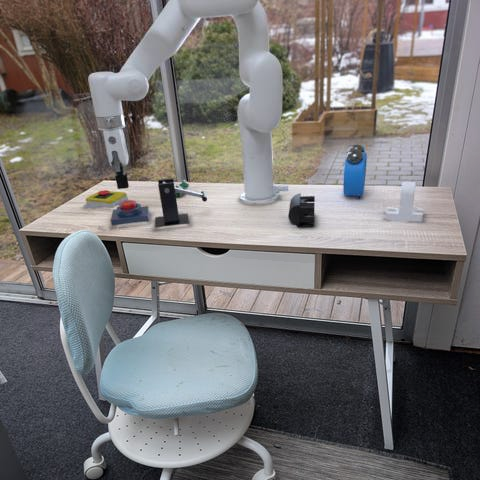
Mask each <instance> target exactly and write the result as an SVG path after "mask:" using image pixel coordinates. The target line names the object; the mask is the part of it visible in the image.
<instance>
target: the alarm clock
mask: <svg viewBox="0 0 480 480" xmlns="http://www.w3.org/2000/svg"><path fill="white" fill-rule="evenodd" d="M365 150H366V149H365V147H364V146H363V145H362V144H360V143H359V144H358V143H356V144H352V145H351V146H350V147H349V148H348V152H346V154H345V159H344V170H343V182H342V183H343V185H342V186H343V187H342V189H343V190H342V191H343V195H344V196H345V197H347V196H348V197H358V199H359V200H361V197H363V195H364V192H365V185H366V174H367V162H368V161H367V159H368V155H367V152H366V151H365Z"/></svg>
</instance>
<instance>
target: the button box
mask: <svg viewBox="0 0 480 480" xmlns="http://www.w3.org/2000/svg"><path fill="white" fill-rule="evenodd" d="M135 203H136V208H134V209H131V210H122V208H121V205H119V206H116V209H112V213H111V217H110V223H111V224H110V225H111V226H119V225H129V224H134V223H135V224H137V223H143V222H149V220H150V219H149V218H150V209H149V208H150V207H149V205H143V206H142V204H140V203H138V202H135Z"/></svg>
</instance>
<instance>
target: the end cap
mask: <svg viewBox="0 0 480 480" xmlns="http://www.w3.org/2000/svg"><path fill="white" fill-rule="evenodd" d="M301 195H302V194H301V192H300V193H296V194H294V195H293V196H292V197H291V198H290V201H289V207H288V220H289V222H290V223H291V224H292V225H293V226H295V227H297V228H301V229H304V228H305V229H308V228H309V229H311V228H315V210H316V209H315V201H316V200H315V199H316V196H315V195H305V196H304V195H302V196H301Z"/></svg>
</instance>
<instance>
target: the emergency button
mask: <svg viewBox="0 0 480 480" xmlns="http://www.w3.org/2000/svg"><path fill="white" fill-rule="evenodd" d="M128 200H129V197H128V194H127V192H125V191H124V192H123V191H115V190H114V191H113V190H107V189H105V190H99V191H97V192H95V193H93V194H91V195H89V196H87V197H85V204H83V208H85V209H92V210H96V209H101V208H102V209H103V208H108V209H111V208H116V207H119V206H120V205H121V203H122V202H124V201H128Z"/></svg>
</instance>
